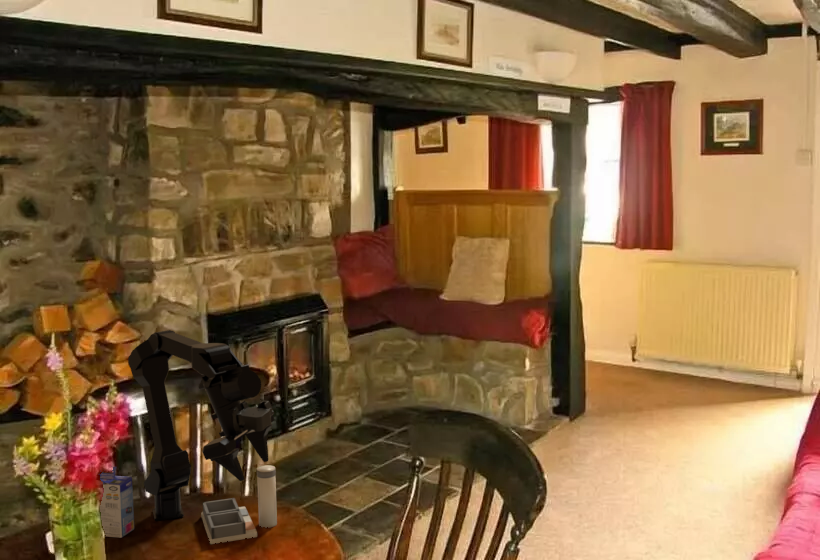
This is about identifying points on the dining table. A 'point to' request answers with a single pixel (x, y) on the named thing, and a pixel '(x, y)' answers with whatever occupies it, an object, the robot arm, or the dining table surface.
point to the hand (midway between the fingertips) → (254, 470)
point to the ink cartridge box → (117, 504)
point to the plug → (267, 496)
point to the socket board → (226, 521)
